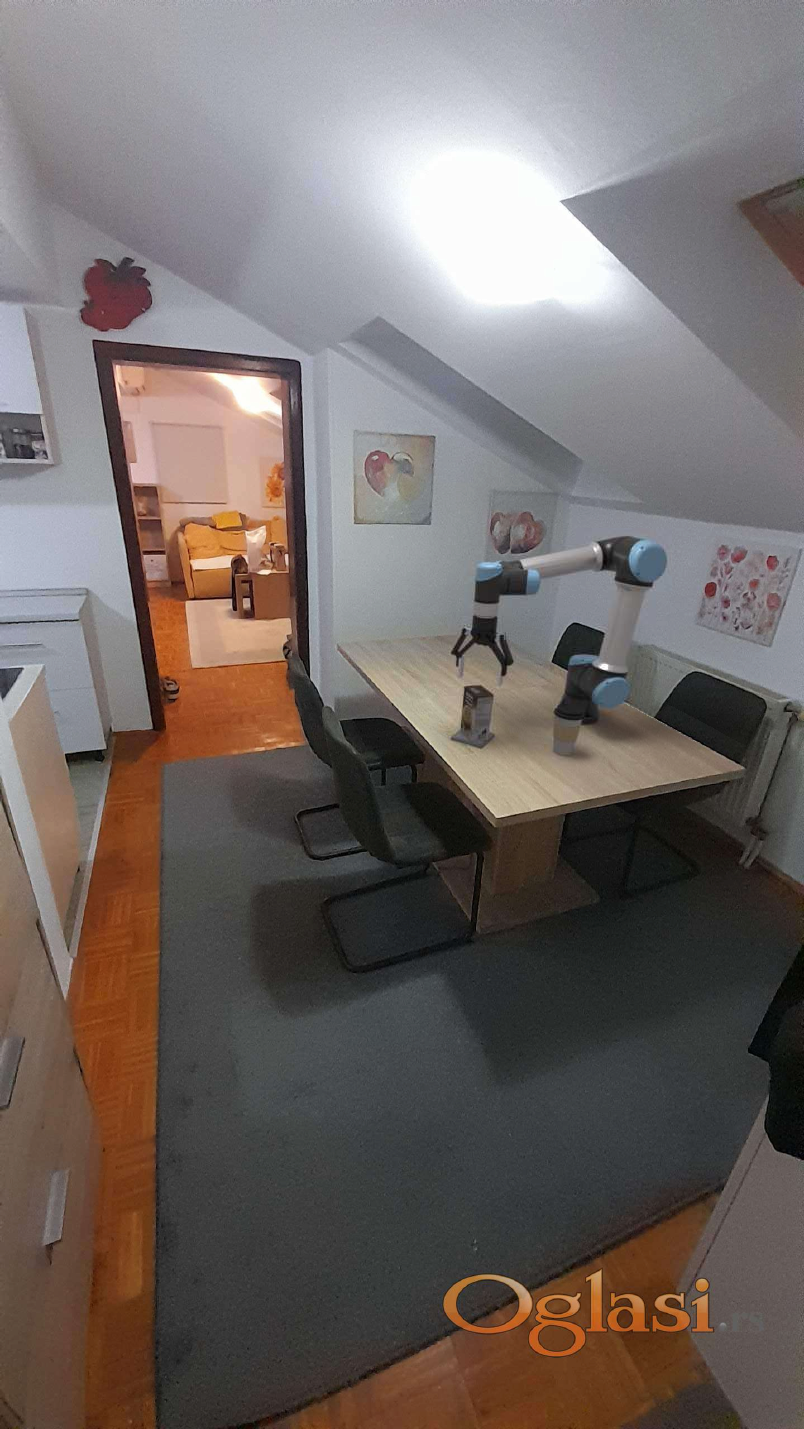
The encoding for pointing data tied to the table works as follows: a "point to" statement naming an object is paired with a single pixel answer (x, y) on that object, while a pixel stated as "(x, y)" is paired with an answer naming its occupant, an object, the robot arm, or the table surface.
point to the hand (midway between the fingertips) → (479, 680)
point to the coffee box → (476, 712)
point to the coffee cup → (566, 727)
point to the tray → (464, 739)
